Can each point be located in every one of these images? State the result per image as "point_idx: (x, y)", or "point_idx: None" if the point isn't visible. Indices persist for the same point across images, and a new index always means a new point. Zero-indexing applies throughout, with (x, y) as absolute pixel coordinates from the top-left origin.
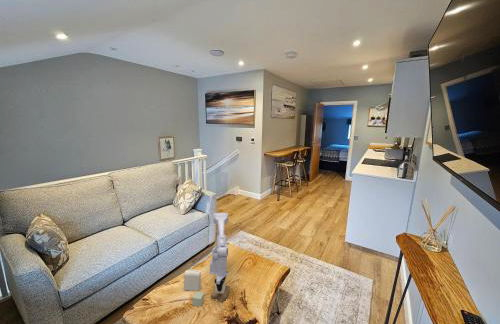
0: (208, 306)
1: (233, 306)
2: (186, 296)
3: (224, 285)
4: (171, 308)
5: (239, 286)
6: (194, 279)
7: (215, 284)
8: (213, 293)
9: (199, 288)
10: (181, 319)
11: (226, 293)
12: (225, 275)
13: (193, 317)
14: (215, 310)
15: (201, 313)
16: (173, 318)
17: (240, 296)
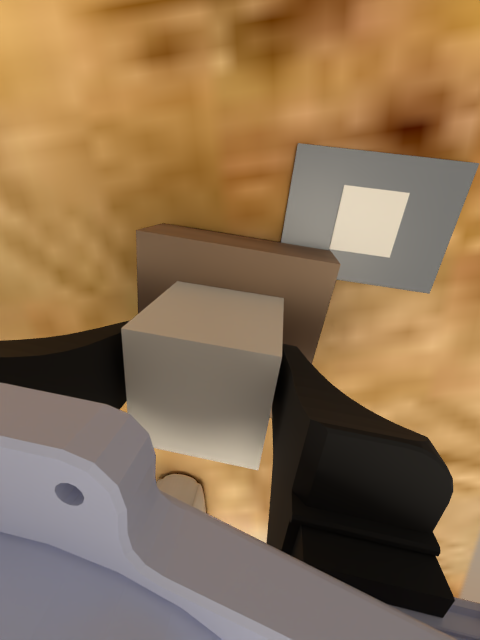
0: (368, 401)
1: (394, 145)
2: (262, 539)
3: (205, 316)
4: None
5: (65, 102)
6: None
7: (238, 464)
8: None
9: (189, 490)
10: (474, 549)
11: (278, 258)
12: (161, 533)
13: (473, 489)
14: (426, 339)
15: (442, 443)
16: (454, 584)
17: (228, 61)
